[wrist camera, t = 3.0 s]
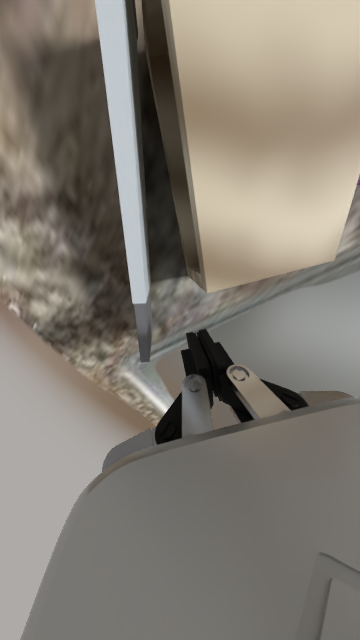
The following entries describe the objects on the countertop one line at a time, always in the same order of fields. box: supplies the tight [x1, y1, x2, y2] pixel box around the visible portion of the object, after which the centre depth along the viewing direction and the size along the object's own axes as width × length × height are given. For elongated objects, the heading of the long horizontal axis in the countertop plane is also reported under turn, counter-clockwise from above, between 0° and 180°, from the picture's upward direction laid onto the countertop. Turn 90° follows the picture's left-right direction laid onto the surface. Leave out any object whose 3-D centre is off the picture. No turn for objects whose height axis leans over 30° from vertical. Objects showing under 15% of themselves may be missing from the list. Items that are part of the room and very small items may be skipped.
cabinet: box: [142, 0, 360, 293], centre depth 10 cm, size 16×10×8 cm, turn 13°
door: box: [95, 0, 152, 362], centre depth 11 cm, size 23×1×6 cm, turn 178°
